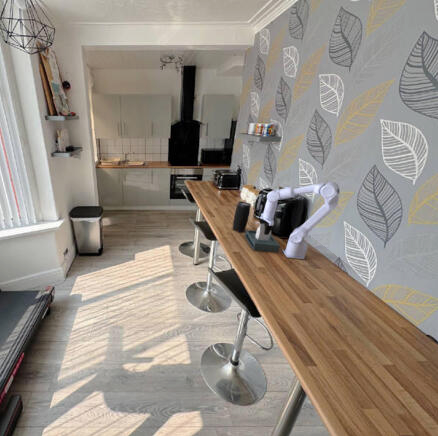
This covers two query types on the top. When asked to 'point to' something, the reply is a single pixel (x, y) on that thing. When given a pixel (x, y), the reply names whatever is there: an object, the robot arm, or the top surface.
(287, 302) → the top surface
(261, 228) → the light grey block
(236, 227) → the portable speaker
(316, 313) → the top surface
